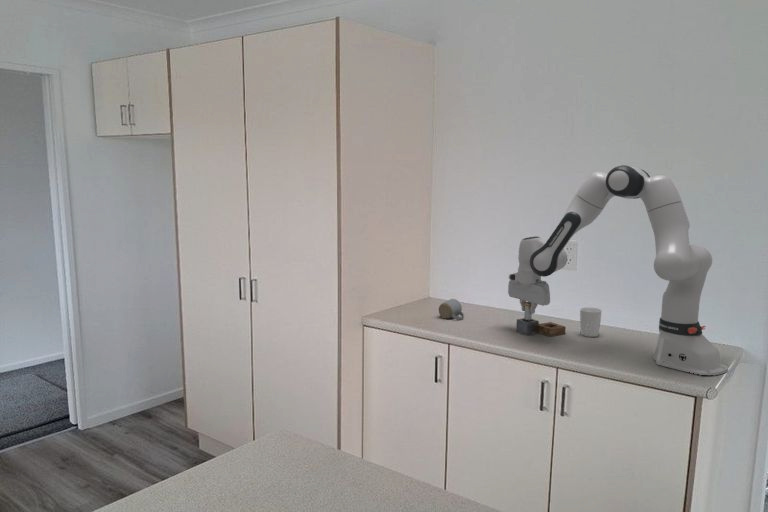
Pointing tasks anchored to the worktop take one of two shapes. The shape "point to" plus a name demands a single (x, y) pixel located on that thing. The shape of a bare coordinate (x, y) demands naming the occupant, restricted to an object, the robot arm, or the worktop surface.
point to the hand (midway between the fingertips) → (528, 312)
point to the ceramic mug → (451, 309)
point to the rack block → (551, 329)
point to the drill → (527, 312)
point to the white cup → (590, 321)
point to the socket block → (527, 326)
